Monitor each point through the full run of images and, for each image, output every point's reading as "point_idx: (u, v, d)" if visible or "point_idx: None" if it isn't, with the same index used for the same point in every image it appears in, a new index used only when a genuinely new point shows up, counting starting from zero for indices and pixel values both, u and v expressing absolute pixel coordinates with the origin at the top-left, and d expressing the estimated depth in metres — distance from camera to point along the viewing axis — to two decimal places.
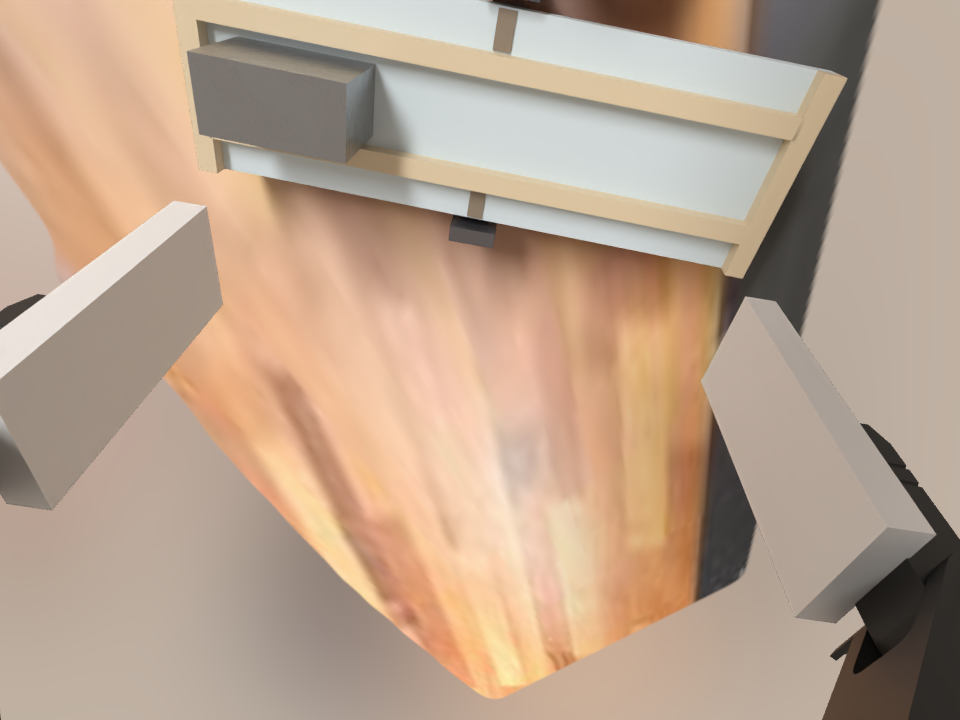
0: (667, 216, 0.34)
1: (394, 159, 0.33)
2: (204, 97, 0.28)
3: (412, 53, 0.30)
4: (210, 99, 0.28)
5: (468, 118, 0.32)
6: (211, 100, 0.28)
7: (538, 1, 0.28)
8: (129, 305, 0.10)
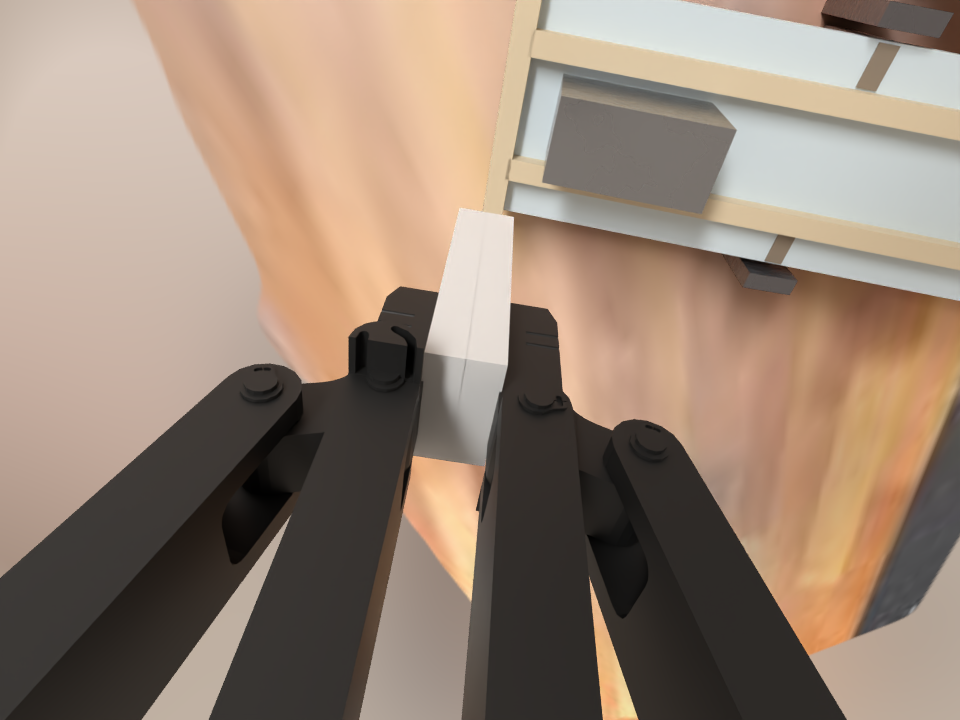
0: None
1: (709, 202, 0.31)
2: (563, 144, 0.26)
3: (770, 92, 0.27)
4: (569, 146, 0.26)
5: (801, 159, 0.30)
6: (570, 147, 0.26)
7: (938, 36, 0.25)
8: None
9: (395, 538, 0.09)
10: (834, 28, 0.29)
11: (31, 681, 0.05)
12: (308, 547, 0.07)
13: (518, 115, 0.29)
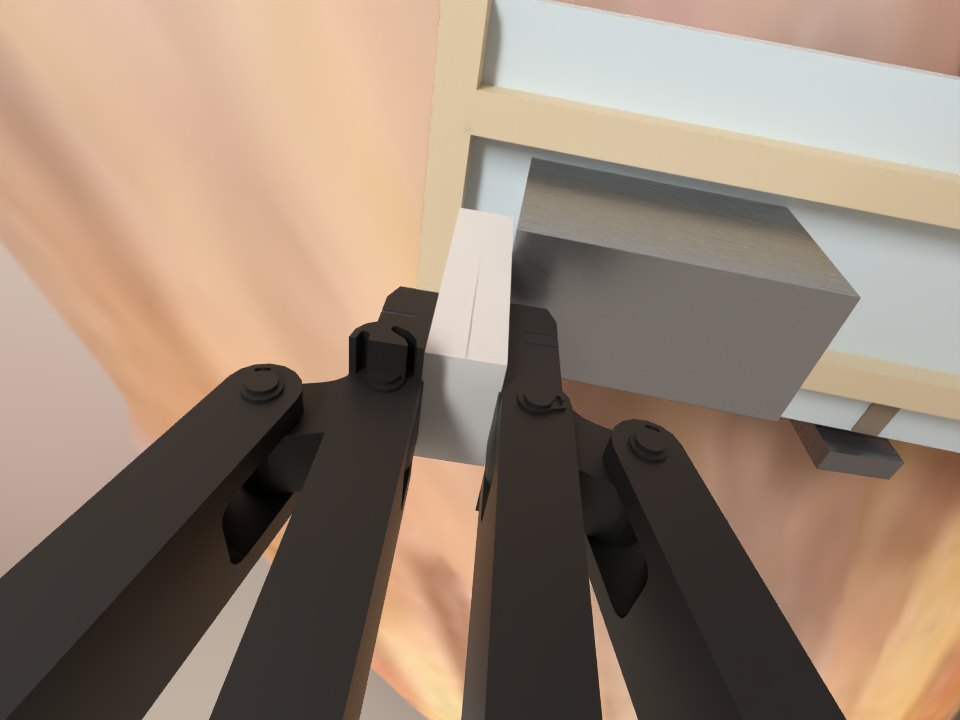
0: None
1: None
2: None
3: (895, 198, 0.15)
4: None
5: (931, 295, 0.18)
6: None
7: None
8: None
9: (395, 538, 0.09)
10: None
11: (31, 682, 0.05)
12: (309, 547, 0.07)
13: (455, 225, 0.18)
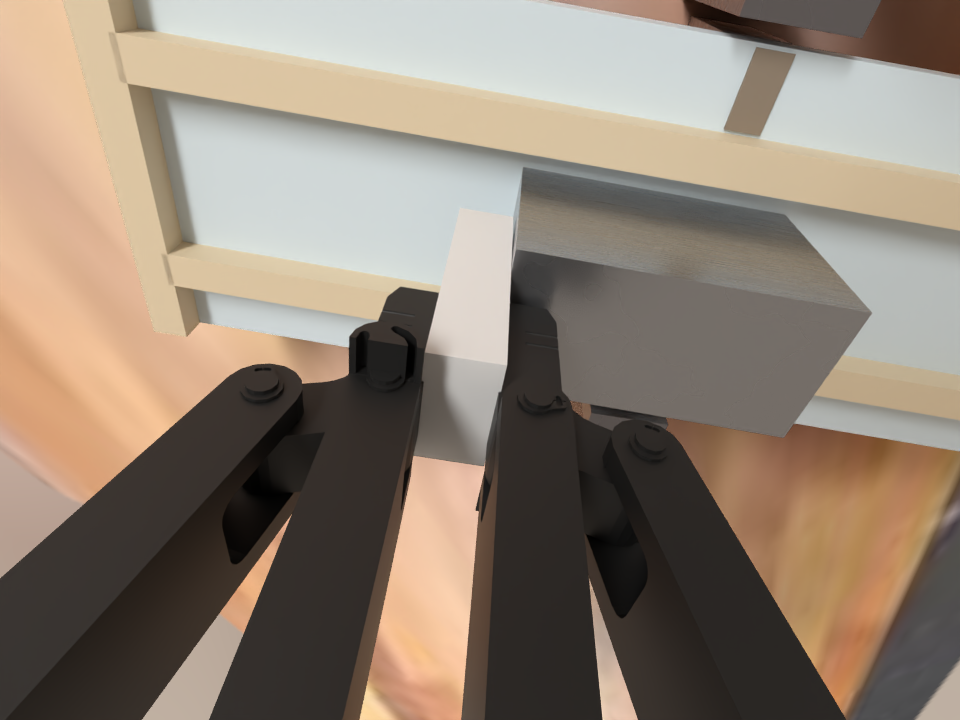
0: None
1: None
2: None
3: (567, 142, 0.15)
4: None
5: None
6: None
7: (859, 35, 0.13)
8: None
9: (396, 538, 0.09)
10: (699, 22, 0.17)
11: (31, 681, 0.05)
12: (309, 547, 0.07)
13: (147, 184, 0.17)
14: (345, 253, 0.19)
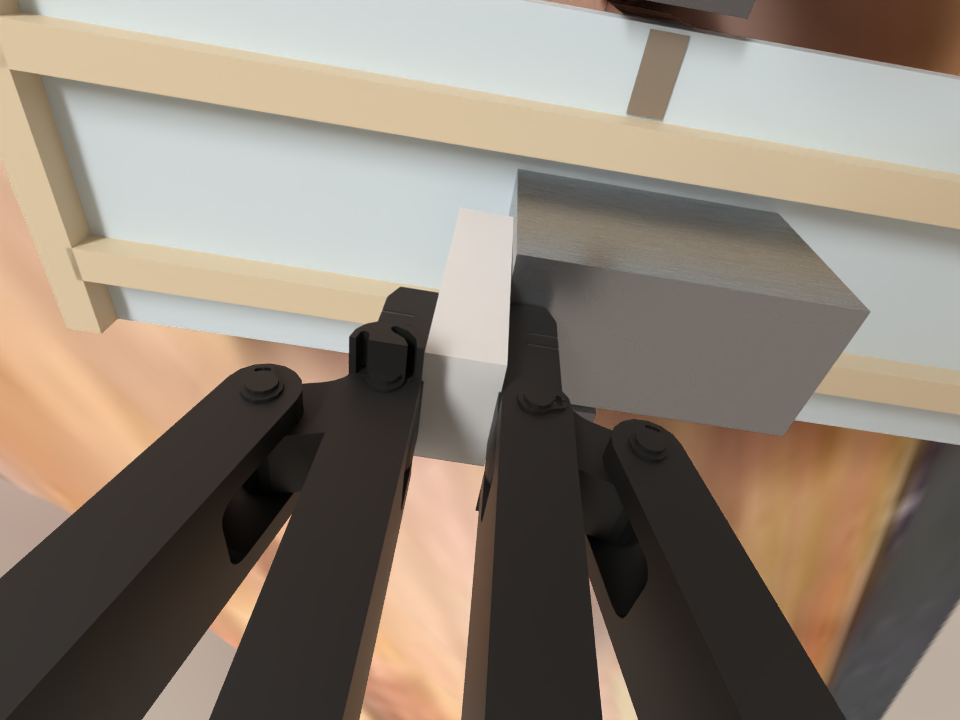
0: (916, 388, 0.19)
1: None
2: None
3: (467, 127, 0.15)
4: None
5: None
6: None
7: (744, 15, 0.13)
8: None
9: (395, 538, 0.09)
10: (612, 7, 0.17)
11: (31, 681, 0.05)
12: (309, 547, 0.07)
13: (42, 175, 0.16)
14: (259, 245, 0.18)
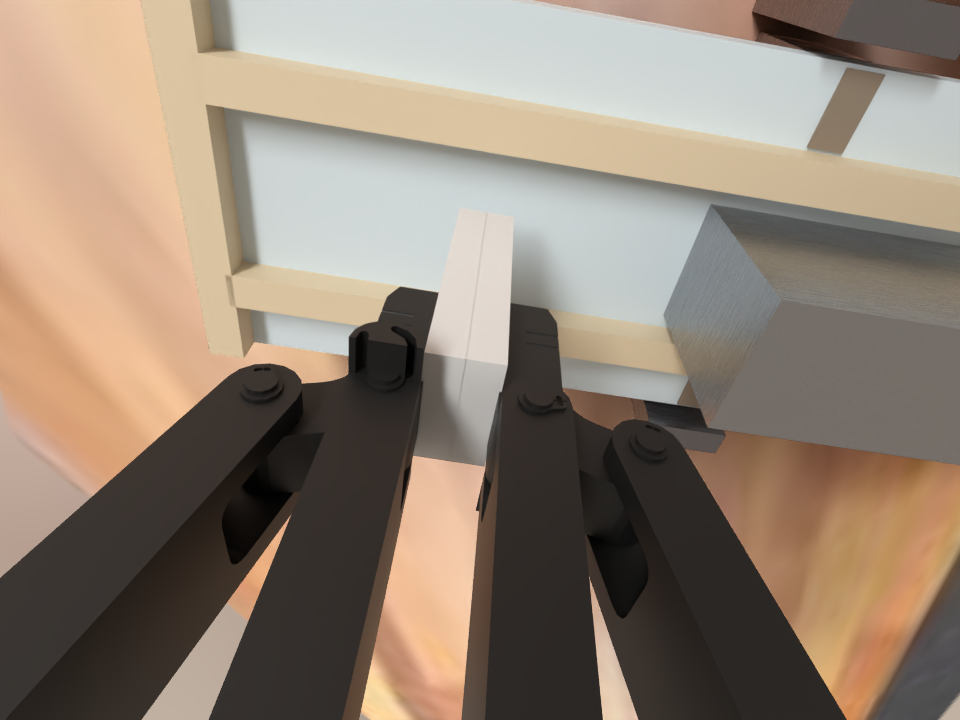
0: None
1: (577, 334, 0.18)
2: (763, 374, 0.13)
3: (656, 161, 0.15)
4: (775, 377, 0.13)
5: None
6: (776, 379, 0.13)
7: (953, 57, 0.13)
8: None
9: (395, 538, 0.09)
10: (772, 38, 0.17)
11: (31, 681, 0.05)
12: (308, 547, 0.07)
13: (217, 206, 0.16)
14: (412, 271, 0.18)
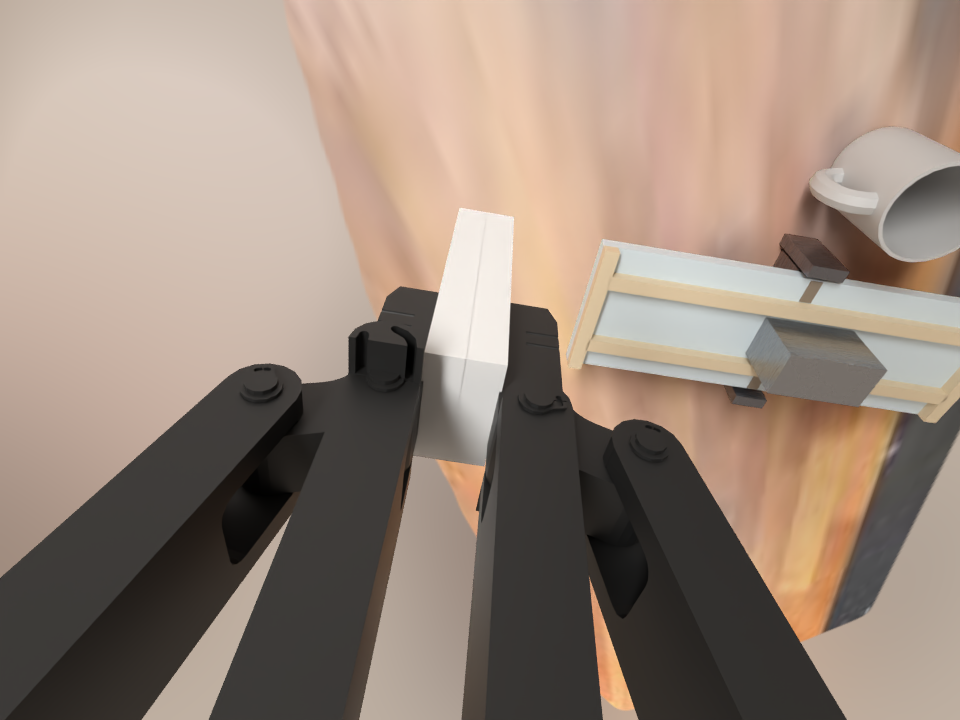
0: (894, 390, 0.50)
1: (713, 361, 0.49)
2: (785, 376, 0.44)
3: (750, 307, 0.46)
4: (789, 377, 0.44)
5: None
6: (789, 377, 0.44)
7: (841, 282, 0.44)
8: None
9: (395, 538, 0.09)
10: (786, 256, 0.48)
11: (31, 681, 0.05)
12: (308, 547, 0.07)
13: (596, 318, 0.47)
14: (652, 337, 0.49)
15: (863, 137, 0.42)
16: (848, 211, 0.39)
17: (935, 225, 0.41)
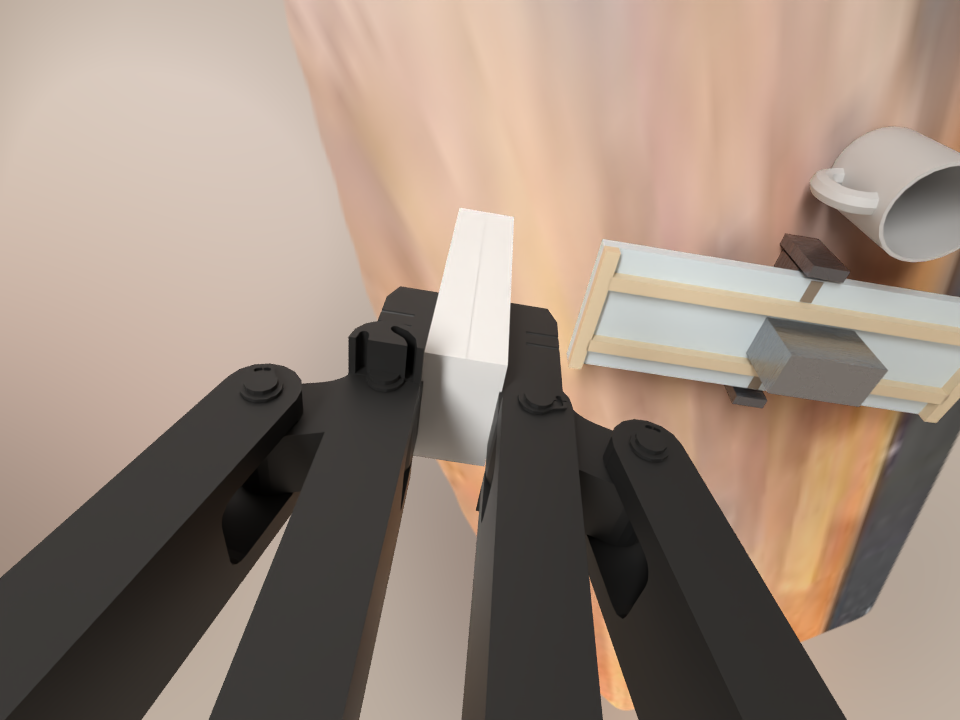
0: (894, 390, 0.50)
1: (714, 361, 0.49)
2: (786, 376, 0.44)
3: (750, 307, 0.46)
4: (789, 377, 0.44)
5: None
6: (790, 377, 0.44)
7: (842, 281, 0.44)
8: None
9: (395, 538, 0.09)
10: (787, 256, 0.48)
11: (31, 681, 0.05)
12: (308, 547, 0.07)
13: (597, 318, 0.47)
14: (653, 337, 0.49)
15: (863, 137, 0.42)
16: (849, 211, 0.39)
17: (936, 225, 0.41)
